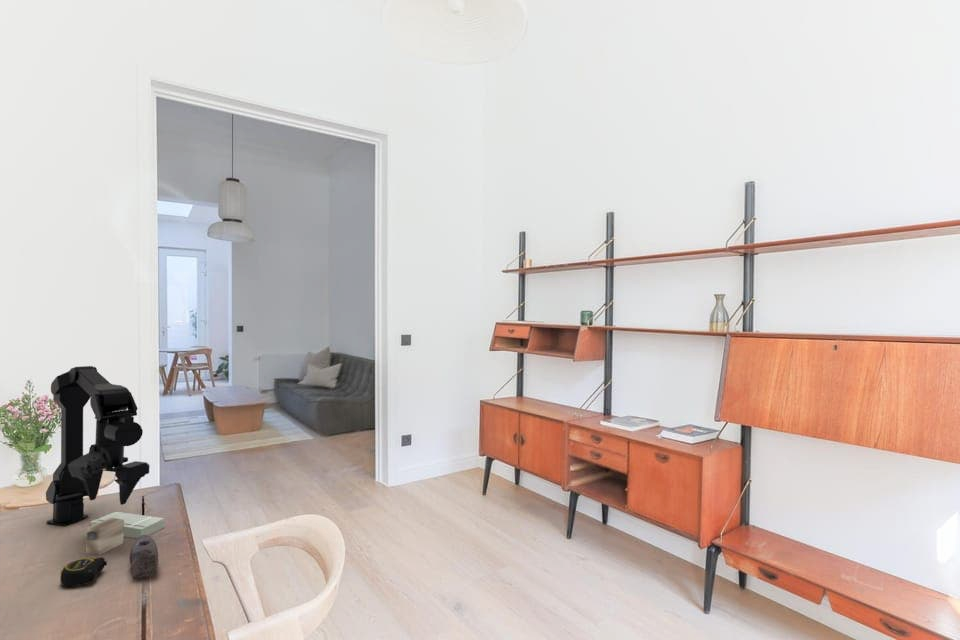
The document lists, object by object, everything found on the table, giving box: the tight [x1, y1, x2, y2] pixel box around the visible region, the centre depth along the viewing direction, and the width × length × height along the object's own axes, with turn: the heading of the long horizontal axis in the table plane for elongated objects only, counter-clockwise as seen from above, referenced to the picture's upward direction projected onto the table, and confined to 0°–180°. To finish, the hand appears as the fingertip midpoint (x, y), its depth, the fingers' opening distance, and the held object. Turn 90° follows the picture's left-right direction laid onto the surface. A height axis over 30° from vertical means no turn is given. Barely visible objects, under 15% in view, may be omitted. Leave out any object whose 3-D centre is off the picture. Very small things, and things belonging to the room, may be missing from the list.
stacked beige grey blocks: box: [85, 518, 125, 555], centre depth 119 cm, size 4×8×6 cm, turn 168°
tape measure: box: [59, 556, 108, 587], centre depth 104 cm, size 7×7×4 cm
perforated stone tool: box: [128, 535, 159, 579], centre depth 110 cm, size 15×5×7 cm, turn 36°
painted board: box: [90, 511, 165, 539], centre depth 129 cm, size 16×7×3 cm, turn 78°
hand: (107, 502), depth 120 cm, fingers open, 9 cm apart
